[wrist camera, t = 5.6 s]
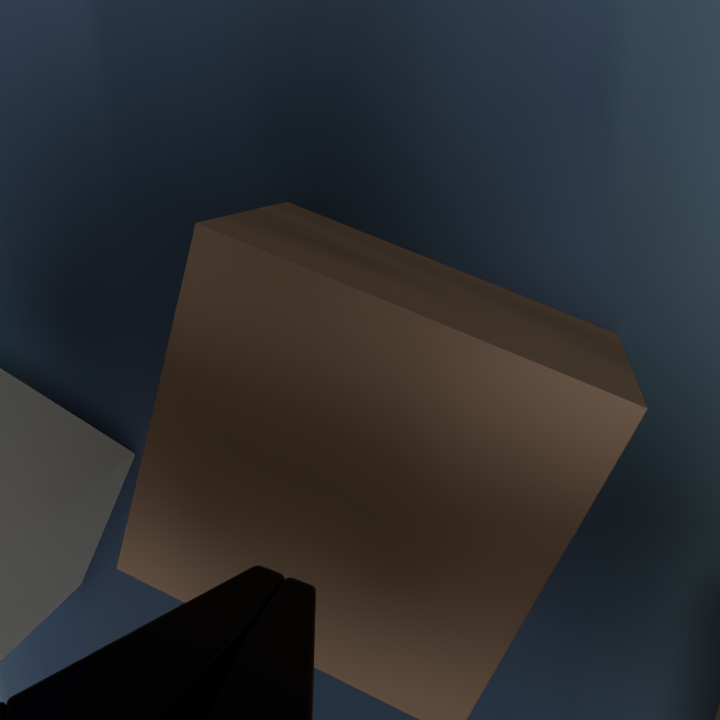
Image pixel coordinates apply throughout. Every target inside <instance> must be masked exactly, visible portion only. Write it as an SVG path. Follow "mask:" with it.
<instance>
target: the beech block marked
mask: <svg viewBox="0 0 720 720" xmlns="http://www.w3.org/2000/svg"><path fill="white" fill-rule="evenodd" d="M715 720H720V704H719V708H718V711H717V714H716V717H715Z"/></svg>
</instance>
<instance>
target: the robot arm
mask: <svg viewBox="0 0 720 720" xmlns="http://www.w3.org/2000/svg"><path fill="white" fill-rule="evenodd" d="M315 612H316V589H315V587H314V586H313V585H311V584H308V583H306V582H303V581H300V580H298V579H295V578H292V577H289V578H286V579H285V577H284V575H283V574H281V573H279V572H277V571H274V570H271V569H269V568H266V567H263V566H260V565H257V566H253V567H251V568H249V569H247V570H246V571H244V572H242V573H240V574H238V575H236V576H234V577H233V578H231V579H229V580H227V581H225V582H223V583H221V584H220V585H218V586H216V587H214V588H212V589H210V590H208V591H207V592H205V593H203V594H201V595H199V596H197V597H195V598H194V599H192V600H190V601H188V602H186V603H184V604H182V605H181V606H179V607H177V608H175V609H173V610H171V611H169V612H168V613H166V614H164V615H162V616H160V617H158V618H156V619H155V620H153V621H151V622H149V623H147V624H145V625H143V626H142V627H140V628H138V629H136V630H134V631H132V632H130V633H129V634H127V635H125V636H123V637H121V638H119V639H117V640H116V641H114V642H112V643H110V644H108V645H106V646H104V647H103V648H101V649H99V650H97V651H95V652H93V653H91V654H90V655H88V656H86V657H84V658H82V659H80V660H78V661H77V662H75V663H73V664H71V665H69V666H67V667H65V668H64V669H62V670H60V671H58V672H56V673H54V674H52V675H51V676H49V677H47V678H45V679H43V680H41V681H39V682H38V683H36V684H34V685H32V686H30V687H28V688H26V689H25V690H23V691H21V692H19V693H17V694H15V695H13V696H12V697H10V698H9V699H8V701H7V704H5V703H4V702H0V720H313V686H314V649H315Z"/></svg>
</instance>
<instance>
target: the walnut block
mask: <svg viewBox="0 0 720 720" xmlns="http://www.w3.org/2000/svg"><path fill="white" fill-rule="evenodd" d="M647 409H648V408H647V405H646V403H645V400H644V398H643V395H642V393H641V390H640V388H639V385H638V383H637V380H636V378H635V375H634V373H633V370H632V367H631V365H630V362H629V360H628V357H627V355H626V352H625V350H624V347H623V345H622V342H621V340H620V337H619V335H618V333H615V332H613V331H610V330H608V329H605V328H603V327H600V326H598V325H595V324H593V323H590V322H588V321H585V320H583V319H580V318H578V317H575V316H573V315H570V314H568V313H565V312H563V311H560V310H558V309H555V308H552V307H550V306H547V305H545V304H542V303H540V302H537V301H535V300H532V299H530V298H527V297H525V296H522V295H520V294H517V293H515V292H512V291H510V290H507V289H505V288H502V287H500V286H497V285H495V284H492V283H490V282H487V281H485V280H482V279H480V278H477V277H475V276H472V275H470V274H467V273H465V272H462V271H460V270H457V269H455V268H452V267H450V266H447V265H445V264H442V263H440V262H437V261H435V260H432V259H430V258H427V257H425V256H422V255H420V254H417V253H415V252H412V251H410V250H407V249H405V248H402V247H400V246H397V245H395V244H392V243H390V242H387V241H385V240H382V239H379V238H377V237H374V236H372V235H369V234H367V233H364V232H362V231H359V230H357V229H354V228H352V227H349V226H347V225H344V224H342V223H339V222H337V221H334V220H332V219H329V218H327V217H324V216H322V215H319V214H317V213H314V212H312V211H309V210H307V209H304V208H302V207H299V206H297V205H294V204H292V203H289V202H284V203H280V204H275V205H271V206H266V207H262V208H258V209H253V210H249V211H245V212H240V213H236V214H232V215H227V216H223V217H219V218H214V219H210V220H206V221H201V222H197V223H196V224H195V228H194V233H193V237H192V242H191V246H190V250H189V255H188V259H187V263H186V268H185V272H184V276H183V281H182V285H181V290H180V294H179V298H178V303H177V307H176V311H175V316H174V320H173V324H172V329H171V333H170V338H169V342H168V346H167V351H166V355H165V359H164V364H163V368H162V373H161V377H160V381H159V386H158V390H157V394H156V399H155V403H154V407H153V412H152V416H151V421H150V425H149V429H148V434H147V438H146V442H145V447H144V451H143V455H142V460H141V464H140V469H139V473H138V477H137V482H136V486H135V490H134V495H133V499H132V503H131V508H130V512H129V517H128V521H127V525H126V530H125V534H124V538H123V543H122V547H121V551H120V556H119V560H118V565H117V569H118V570H120V571H122V572H124V573H126V574H128V575H130V576H132V577H134V578H136V579H138V580H140V581H142V582H144V583H146V584H148V585H150V586H152V587H154V588H156V589H158V590H160V591H162V592H164V593H166V594H168V595H170V596H172V597H174V598H176V599H178V600H180V601H182V602H184V603H186V602H188V601H190V600H192V599H194V598H195V597H197V596H199V595H201V594H203V593H205V592H207V591H208V590H210V589H212V588H214V587H216V586H218V585H220V584H221V583H223V582H225V581H227V580H229V579H231V578H233V577H234V576H236V575H238V574H240V573H242V572H244V571H246V570H247V569H249V568H251V567H253V566H257V565H260V566H263V567H266V568H269V569H271V570H274V571H277V572H279V573H281V574H283V575H284V577H285V579H286V578H289V577H292V578H295V579H298V580H300V581H303V582H306V583H308V584H311V585H313V586H314V587H315V589H316V612H315V649H314V668H316V669H318V670H320V671H323V672H325V673H327V674H329V675H331V676H333V677H335V678H337V679H339V680H341V681H343V682H345V683H347V684H349V685H351V686H353V687H355V688H357V689H359V690H361V691H363V692H365V693H367V694H369V695H371V696H373V697H375V698H377V699H379V700H381V701H383V702H385V703H387V704H389V705H391V706H393V707H395V708H397V709H399V710H401V711H403V712H405V713H407V714H409V715H411V716H413V717H415V718H417V719H419V720H467V718H468V716H469V715H470V713H471V711H472V709H473V708H474V706H475V704H476V703H477V701H478V699H479V697H480V696H481V694H482V692H483V691H484V689H485V687H486V685H487V684H488V682H489V680H490V679H491V677H492V675H493V673H494V672H495V670H496V668H497V667H498V665H499V663H500V661H501V660H502V658H503V656H504V655H505V653H506V651H507V649H508V648H509V646H510V644H511V643H512V641H513V639H514V637H515V636H516V634H517V632H518V631H519V629H520V627H521V625H522V624H523V622H524V620H525V619H526V617H527V615H528V613H529V612H530V610H531V608H532V607H533V605H534V603H535V601H536V600H537V598H538V596H539V595H540V593H541V591H542V589H543V588H544V586H545V584H546V583H547V581H548V579H549V577H550V576H551V574H552V572H553V570H554V569H555V567H556V565H557V564H558V562H559V560H560V558H561V557H562V555H563V553H564V552H565V550H566V548H567V546H568V545H569V543H570V541H571V540H572V538H573V536H574V534H575V533H576V531H577V529H578V528H579V526H580V524H581V522H582V521H583V519H584V517H585V516H586V514H587V512H588V510H589V509H590V507H591V505H592V504H593V502H594V500H595V498H596V497H597V495H598V493H599V492H600V490H601V488H602V486H603V485H604V483H605V481H606V480H607V478H608V476H609V474H610V473H611V471H612V469H613V468H614V466H615V464H616V462H617V461H618V459H619V457H620V456H621V454H622V452H623V450H624V449H625V447H626V445H627V444H628V442H629V440H630V438H631V437H632V435H633V433H634V432H635V430H636V428H637V426H638V425H639V423H640V421H641V420H642V418H643V416H644V414H645V413H646V411H647Z"/></svg>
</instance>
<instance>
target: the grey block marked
mask: <svg viewBox="0 0 720 720" xmlns="http://www.w3.org/2000/svg"><path fill="white" fill-rule="evenodd" d="M134 457H135V453H133V452H132V451H130V450H128V449H127V448H125V447H124V446H122V445H121V444H119V443H117V442H116V441H114V440H113V439H111V438H110V437H108V436H106V435H105V434H103V433H102V432H100V431H99V430H97V429H95V428H94V427H92V426H91V425H89V424H87V423H86V422H84V421H83V420H81V419H80V418H78V417H76V416H75V415H73V414H72V413H70V412H69V411H67V410H65V409H64V408H62V407H61V406H59V405H58V404H56V403H54V402H53V401H51V400H50V399H48V398H47V397H45V396H43V395H42V394H40V393H39V392H37V391H35V390H34V389H32V388H31V387H29V386H28V385H26V384H24V383H23V382H21V381H20V380H18V379H17V378H15V377H13V376H12V375H10V374H9V373H7V372H6V371H4V370H2V369H1V368H0V661H1V660H2V659H3V658H4V657H6V656H7V655H8V654H9V653H10V652H11V651H12V650H13V649H14V648H15V647H16V646H17V645H18V644H19V643H20V642H21V641H22V640H23V639H24V638H26V637H27V636H28V635H29V634H30V633H31V632H32V631H33V630H34V629H35V628H36V627H37V626H38V625H39V624H40V623H41V622H42V621H43V620H44V619H45V618H47V617H48V616H49V615H50V614H51V613H52V612H53V611H54V610H55V609H56V608H57V607H58V606H59V605H60V604H61V603H62V602H63V601H64V600H65V599H66V598H68V597H69V596H70V595H71V594H72V593H73V592H74V591H75V590H76V589H77V588H78V587H79V586H80V585H81V584H82V582H83V579H84V577H85V574H86V572H87V570H88V567H89V565H90V562H91V560H92V558H93V555H94V553H95V550H96V548H97V546H98V543H99V541H100V538H101V536H102V534H103V531H104V529H105V526H106V524H107V522H108V519H109V517H110V514H111V512H112V510H113V507H114V505H115V502H116V500H117V498H118V495H119V493H120V490H121V488H122V486H123V483H124V481H125V478H126V476H127V474H128V471H129V469H130V466H131V464H132V462H133V459H134Z"/></svg>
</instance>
